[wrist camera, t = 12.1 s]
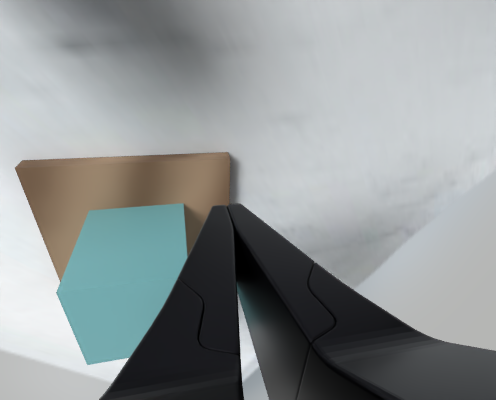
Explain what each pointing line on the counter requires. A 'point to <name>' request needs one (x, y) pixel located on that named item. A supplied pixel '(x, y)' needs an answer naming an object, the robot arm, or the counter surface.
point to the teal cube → (121, 276)
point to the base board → (119, 192)
